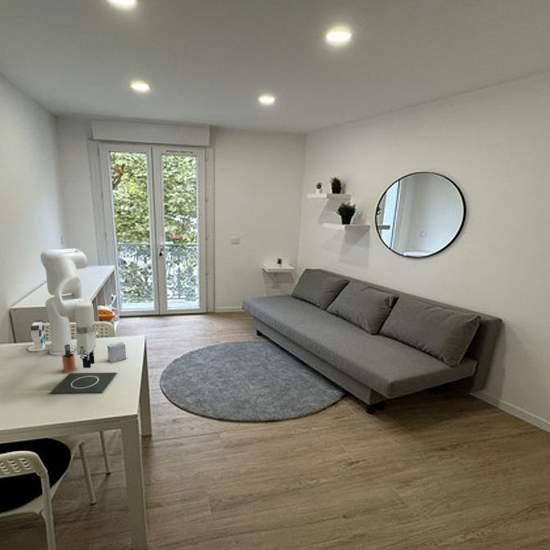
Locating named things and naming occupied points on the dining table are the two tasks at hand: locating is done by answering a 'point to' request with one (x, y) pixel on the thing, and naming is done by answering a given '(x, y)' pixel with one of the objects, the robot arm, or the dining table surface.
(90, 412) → the dining table surface
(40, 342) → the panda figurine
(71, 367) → the pen cup
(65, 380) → the slate board
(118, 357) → the medicine box
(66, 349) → the cylinder
